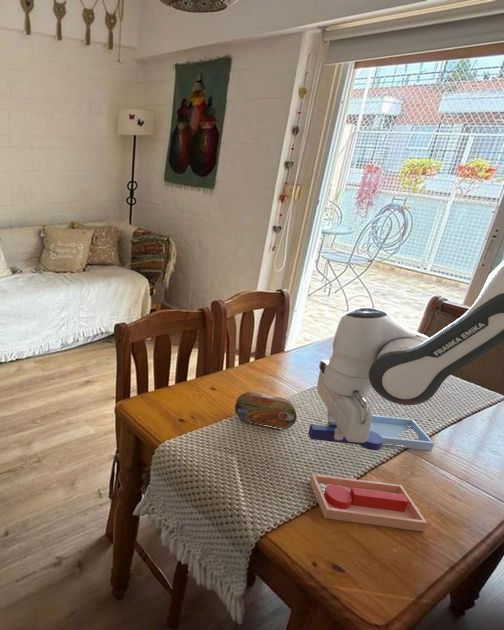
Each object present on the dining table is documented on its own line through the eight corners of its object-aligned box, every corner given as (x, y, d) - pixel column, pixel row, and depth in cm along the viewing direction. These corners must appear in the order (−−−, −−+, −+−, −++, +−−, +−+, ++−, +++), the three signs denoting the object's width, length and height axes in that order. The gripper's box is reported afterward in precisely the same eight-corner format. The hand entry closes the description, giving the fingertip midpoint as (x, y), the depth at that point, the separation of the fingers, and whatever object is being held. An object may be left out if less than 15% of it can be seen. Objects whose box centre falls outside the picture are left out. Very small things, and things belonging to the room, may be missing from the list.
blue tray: (410, 426, 117) (412, 418, 116) (431, 450, 108) (434, 443, 107) (337, 418, 120) (339, 411, 119) (352, 442, 111) (354, 434, 110)
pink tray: (398, 493, 95) (401, 484, 94) (423, 531, 86) (427, 523, 85) (309, 481, 98) (311, 473, 97) (324, 518, 88) (327, 509, 87)
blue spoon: (312, 443, 98) (315, 433, 97) (306, 430, 103) (308, 420, 102) (385, 451, 96) (389, 441, 95) (375, 437, 100) (378, 427, 99)
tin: (232, 419, 119) (237, 393, 116) (233, 413, 122) (238, 387, 118) (293, 433, 114) (299, 406, 110) (292, 426, 116) (299, 399, 113)
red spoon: (396, 499, 93) (400, 489, 92) (408, 518, 88) (412, 507, 87) (320, 489, 95) (323, 479, 94) (328, 507, 90) (331, 496, 89)
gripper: (386, 408, 84) (369, 466, 89) (346, 359, 103) (333, 409, 108) (351, 405, 85) (335, 462, 90) (317, 357, 104) (306, 407, 109)
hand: (334, 433), depth 99 cm, fingers closed on blue spoon, 2 cm apart
